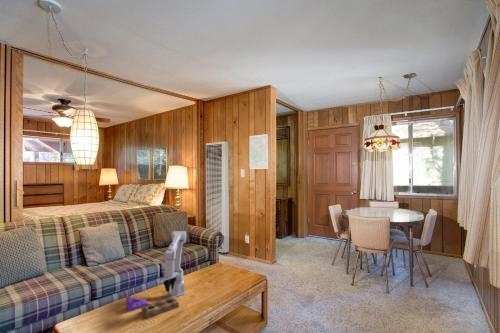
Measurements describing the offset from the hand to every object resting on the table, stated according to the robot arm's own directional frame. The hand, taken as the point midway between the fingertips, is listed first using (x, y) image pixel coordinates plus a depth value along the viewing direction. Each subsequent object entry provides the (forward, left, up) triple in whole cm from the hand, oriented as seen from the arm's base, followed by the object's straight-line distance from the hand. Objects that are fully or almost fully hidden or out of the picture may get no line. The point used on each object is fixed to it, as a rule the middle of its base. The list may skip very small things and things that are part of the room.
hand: (169, 290), depth 169 cm
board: (+6, 0, -10) cm, 12 cm away
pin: (0, 0, -4) cm, 4 cm away
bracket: (+16, -13, -11) cm, 23 cm away
